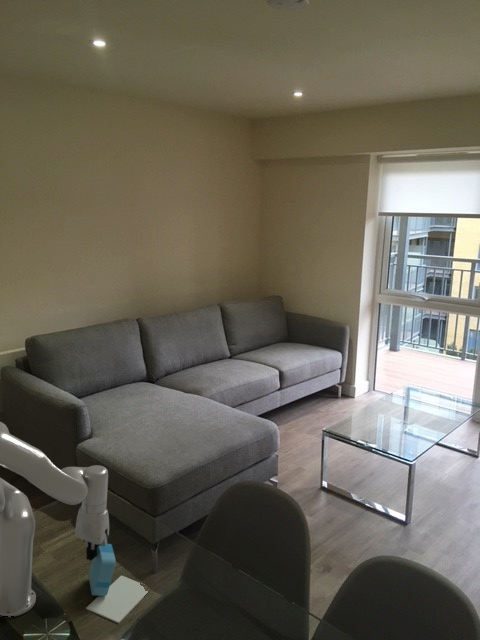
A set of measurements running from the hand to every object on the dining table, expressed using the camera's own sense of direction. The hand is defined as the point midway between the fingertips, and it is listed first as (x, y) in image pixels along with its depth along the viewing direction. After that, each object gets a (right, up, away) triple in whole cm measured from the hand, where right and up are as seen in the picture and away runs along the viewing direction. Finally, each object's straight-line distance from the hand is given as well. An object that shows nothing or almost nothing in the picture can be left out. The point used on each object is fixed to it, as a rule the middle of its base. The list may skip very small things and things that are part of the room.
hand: (91, 557), depth 173 cm
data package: (+2, -10, 0) cm, 10 cm away
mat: (+10, -12, -3) cm, 16 cm away
